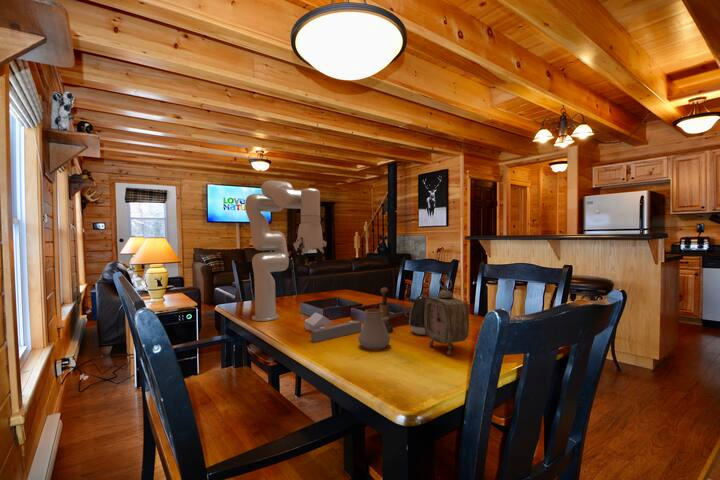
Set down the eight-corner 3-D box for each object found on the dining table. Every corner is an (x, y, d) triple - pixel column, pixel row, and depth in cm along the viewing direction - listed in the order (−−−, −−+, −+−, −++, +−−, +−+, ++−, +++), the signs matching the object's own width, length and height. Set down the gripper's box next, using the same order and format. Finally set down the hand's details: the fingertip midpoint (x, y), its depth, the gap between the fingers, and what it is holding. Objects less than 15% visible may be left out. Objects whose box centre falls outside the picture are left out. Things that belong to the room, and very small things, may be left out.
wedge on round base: (333, 330, 145) (321, 324, 156) (333, 314, 145) (320, 309, 156) (313, 334, 141) (302, 326, 152) (313, 317, 140) (301, 311, 152)
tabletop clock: (424, 345, 125) (423, 275, 124) (445, 342, 128) (444, 274, 128) (448, 358, 111) (448, 280, 111) (471, 354, 115) (471, 278, 114)
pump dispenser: (404, 331, 143) (404, 294, 143) (427, 328, 146) (426, 292, 146) (415, 337, 134) (415, 298, 133) (439, 335, 137) (439, 296, 137)
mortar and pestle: (374, 332, 142) (374, 288, 142) (379, 328, 148) (379, 285, 148) (390, 333, 139) (389, 288, 139) (394, 329, 145) (394, 286, 145)
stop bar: (311, 340, 131) (310, 328, 131) (356, 330, 145) (356, 319, 145) (315, 342, 129) (315, 330, 129) (361, 331, 143) (361, 320, 143)
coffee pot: (351, 346, 124) (350, 304, 124) (373, 339, 132) (373, 300, 132) (398, 361, 109) (397, 313, 109) (419, 352, 117) (419, 308, 117)
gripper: (318, 221, 146) (319, 262, 146) (287, 220, 132) (287, 265, 133) (332, 220, 142) (332, 262, 142) (301, 219, 128) (301, 266, 128)
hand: (311, 264), depth 137 cm, fingers open, 9 cm apart
